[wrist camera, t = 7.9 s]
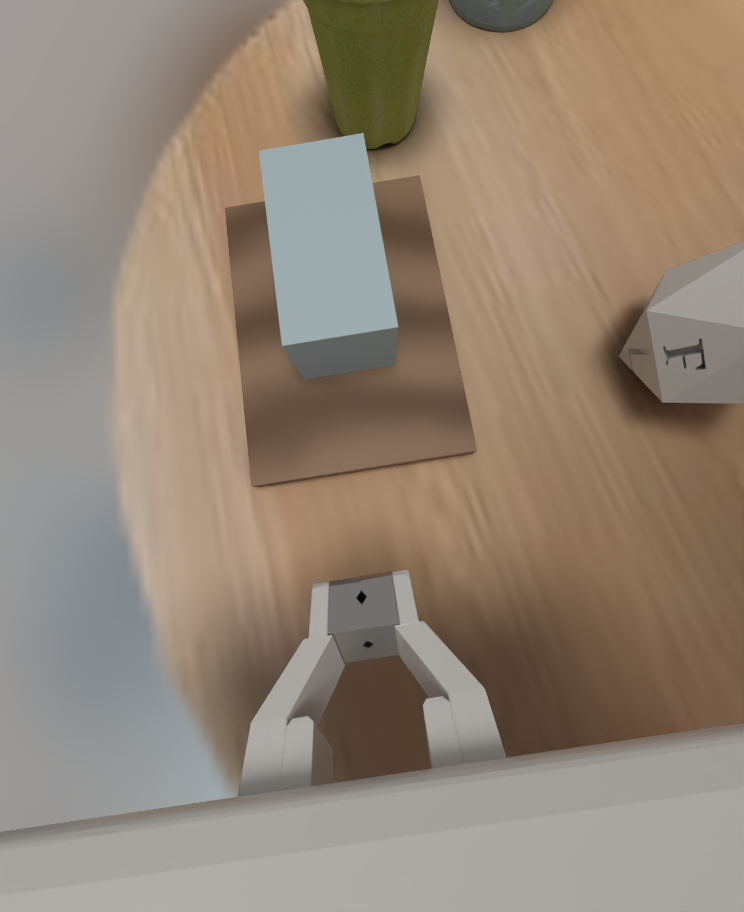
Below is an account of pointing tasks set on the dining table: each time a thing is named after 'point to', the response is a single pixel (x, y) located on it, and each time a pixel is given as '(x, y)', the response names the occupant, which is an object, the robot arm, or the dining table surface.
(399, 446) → the board
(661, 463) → the dining table surface
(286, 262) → the light blue box
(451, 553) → the dining table surface
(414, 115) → the plant pot
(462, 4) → the blue-grey cup
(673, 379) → the die
